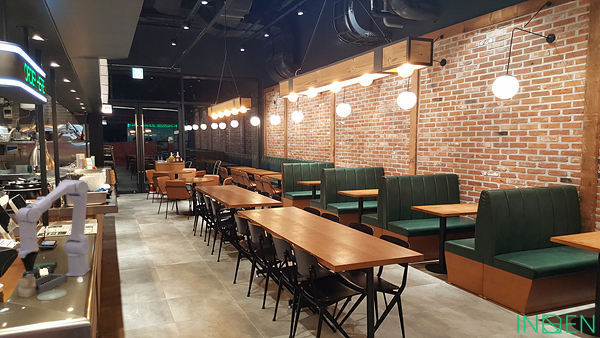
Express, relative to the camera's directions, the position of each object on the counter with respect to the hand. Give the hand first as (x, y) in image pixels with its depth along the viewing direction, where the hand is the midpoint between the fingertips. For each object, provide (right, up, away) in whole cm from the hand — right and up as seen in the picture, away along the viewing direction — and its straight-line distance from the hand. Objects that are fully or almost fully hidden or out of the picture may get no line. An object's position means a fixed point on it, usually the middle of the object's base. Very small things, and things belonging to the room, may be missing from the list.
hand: (29, 270), depth 157 cm
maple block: (0, -10, -1) cm, 10 cm away
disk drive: (-13, -8, +26) cm, 30 cm away
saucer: (+10, -10, -1) cm, 14 cm away
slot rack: (+1, -9, +7) cm, 12 cm away
